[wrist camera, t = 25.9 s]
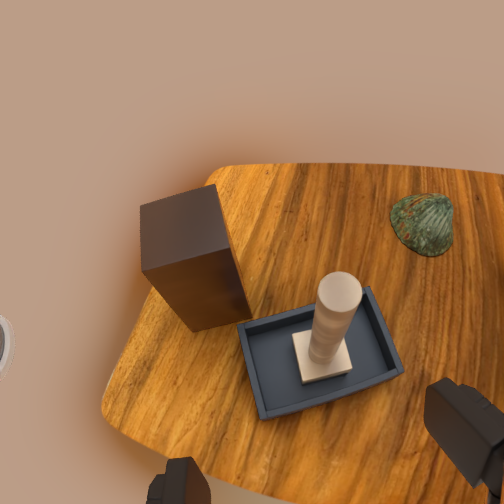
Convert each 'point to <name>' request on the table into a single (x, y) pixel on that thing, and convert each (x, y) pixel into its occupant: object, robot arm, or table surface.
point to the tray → (285, 367)
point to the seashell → (424, 223)
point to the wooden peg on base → (328, 330)
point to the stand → (193, 259)
